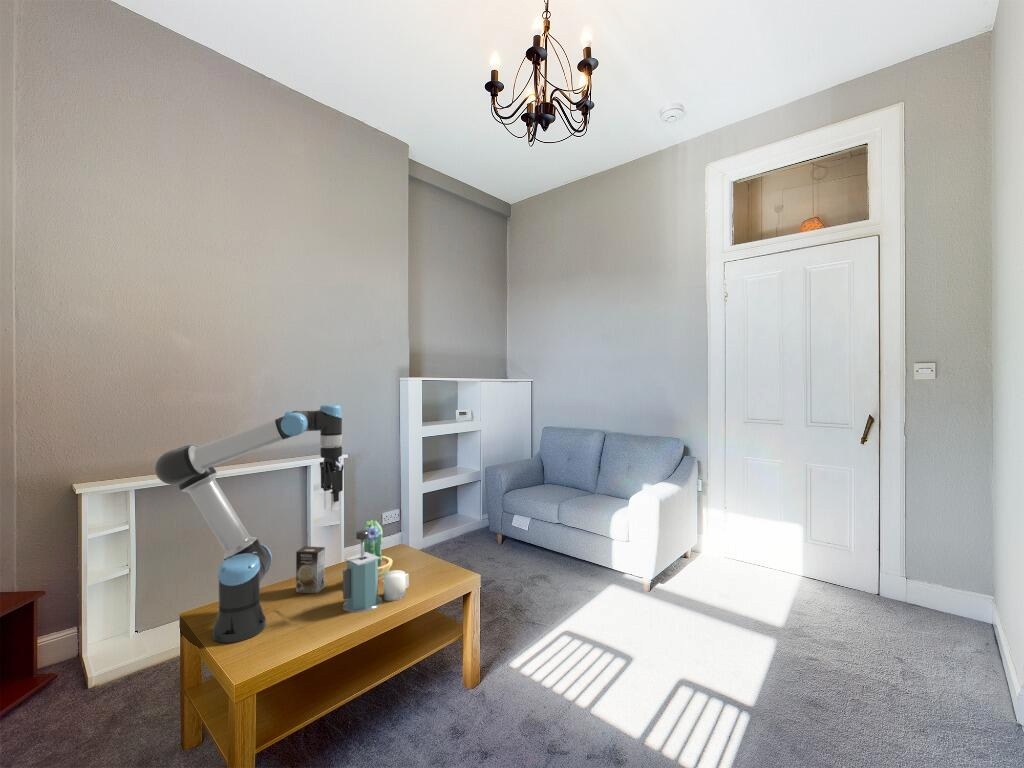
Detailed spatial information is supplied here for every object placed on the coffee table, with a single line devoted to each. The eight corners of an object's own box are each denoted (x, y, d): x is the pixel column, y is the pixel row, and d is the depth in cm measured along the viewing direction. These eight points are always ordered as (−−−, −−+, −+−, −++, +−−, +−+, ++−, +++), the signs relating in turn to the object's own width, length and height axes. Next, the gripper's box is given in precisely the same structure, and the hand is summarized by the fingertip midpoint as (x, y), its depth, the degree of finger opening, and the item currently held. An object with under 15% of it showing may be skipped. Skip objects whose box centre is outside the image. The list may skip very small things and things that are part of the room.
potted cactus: (345, 587, 186) (345, 524, 186) (368, 572, 201) (368, 514, 201) (379, 592, 181) (378, 528, 182) (399, 576, 196) (399, 517, 196)
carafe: (351, 614, 162) (351, 567, 162) (336, 606, 168) (336, 560, 169) (382, 602, 171) (382, 557, 171) (367, 594, 178) (367, 551, 178)
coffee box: (295, 592, 182) (294, 551, 182) (304, 585, 188) (303, 546, 188) (317, 593, 181) (317, 552, 181) (325, 586, 187) (325, 546, 187)
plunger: (358, 582, 165) (358, 536, 166) (347, 577, 170) (347, 532, 171) (377, 576, 171) (377, 531, 171) (366, 571, 176) (365, 527, 176)
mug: (391, 605, 171) (391, 580, 171) (379, 598, 176) (379, 574, 176) (414, 595, 178) (414, 571, 179) (401, 589, 184) (401, 566, 184)
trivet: (355, 618, 161) (355, 616, 161) (335, 606, 170) (335, 604, 170) (390, 604, 171) (390, 601, 171) (369, 593, 181) (369, 591, 181)
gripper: (352, 447, 171) (353, 510, 171) (329, 443, 182) (329, 503, 182) (333, 449, 165) (333, 515, 165) (310, 445, 177) (310, 507, 176)
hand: (331, 508), depth 174 cm, fingers open, 4 cm apart
